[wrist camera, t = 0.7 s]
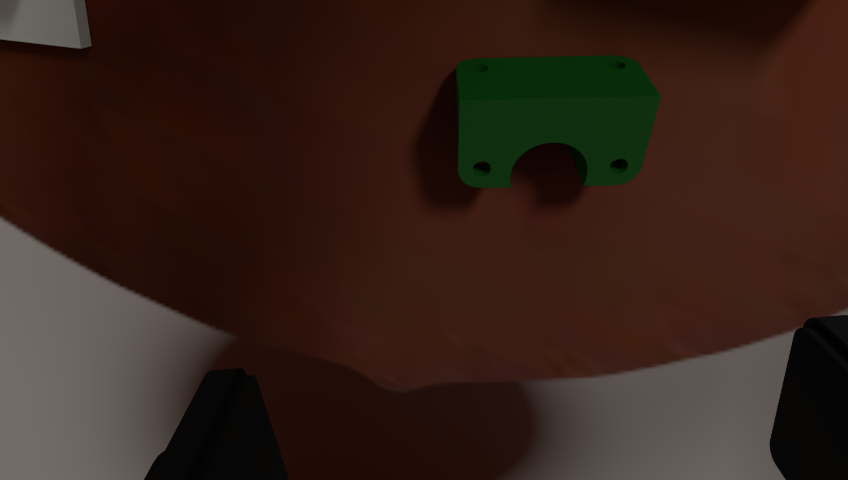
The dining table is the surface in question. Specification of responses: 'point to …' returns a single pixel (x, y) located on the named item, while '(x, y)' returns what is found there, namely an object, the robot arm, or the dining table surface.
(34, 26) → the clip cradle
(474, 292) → the dining table surface
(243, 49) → the dining table surface
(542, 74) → the clamp
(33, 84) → the dining table surface
